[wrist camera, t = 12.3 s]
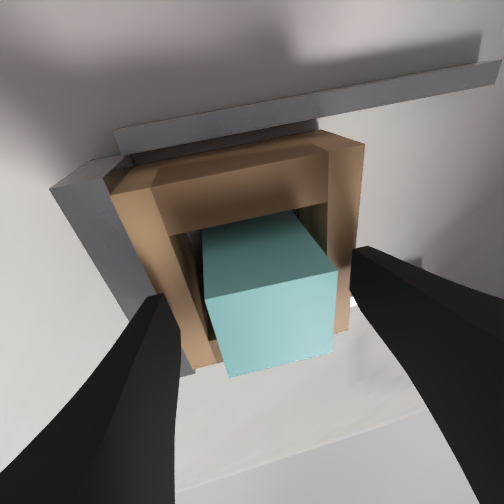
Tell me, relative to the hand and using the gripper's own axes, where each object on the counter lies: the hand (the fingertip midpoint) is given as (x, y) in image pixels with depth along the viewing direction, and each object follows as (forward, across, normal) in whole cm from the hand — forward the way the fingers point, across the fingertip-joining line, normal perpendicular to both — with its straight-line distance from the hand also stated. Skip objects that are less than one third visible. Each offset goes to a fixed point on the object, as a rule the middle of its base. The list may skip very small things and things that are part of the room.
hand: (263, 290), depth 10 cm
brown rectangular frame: (+4, 0, 0) cm, 4 cm away
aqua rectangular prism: (+4, 0, 0) cm, 4 cm away
